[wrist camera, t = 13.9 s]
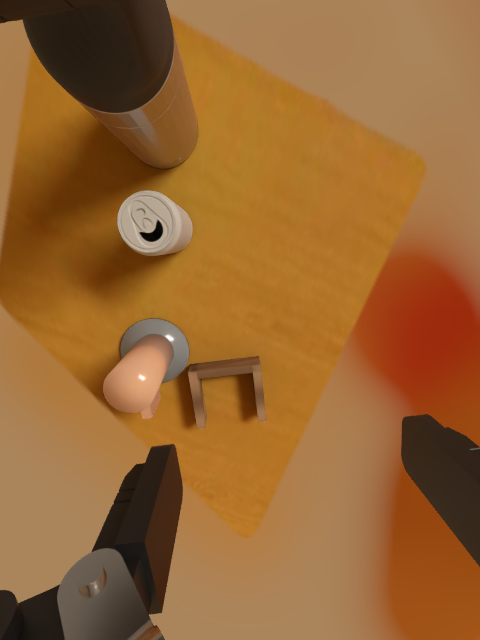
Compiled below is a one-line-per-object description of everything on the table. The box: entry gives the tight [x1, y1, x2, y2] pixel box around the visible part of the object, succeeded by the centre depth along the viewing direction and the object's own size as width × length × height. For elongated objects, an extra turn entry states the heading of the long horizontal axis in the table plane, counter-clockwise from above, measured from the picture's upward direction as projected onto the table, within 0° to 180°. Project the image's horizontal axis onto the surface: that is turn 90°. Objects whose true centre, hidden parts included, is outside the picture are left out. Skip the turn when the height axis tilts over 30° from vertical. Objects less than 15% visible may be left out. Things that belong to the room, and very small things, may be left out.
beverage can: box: [117, 190, 193, 256], centre depth 35 cm, size 6×6×12 cm
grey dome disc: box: [120, 318, 189, 383], centre depth 45 cm, size 10×10×1 cm
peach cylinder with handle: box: [103, 334, 174, 419], centre depth 39 cm, size 8×6×12 cm, turn 7°
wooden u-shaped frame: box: [188, 356, 266, 429], centre depth 46 cm, size 9×10×3 cm
